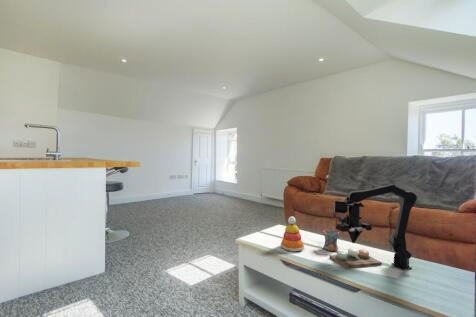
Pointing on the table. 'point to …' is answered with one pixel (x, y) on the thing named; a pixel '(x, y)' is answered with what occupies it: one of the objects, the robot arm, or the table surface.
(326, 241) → the mug
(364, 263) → the button board
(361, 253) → the terracotta button
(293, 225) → the stacking toy
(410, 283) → the table surface
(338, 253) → the sage button
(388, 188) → the robot arm
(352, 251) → the cream button
